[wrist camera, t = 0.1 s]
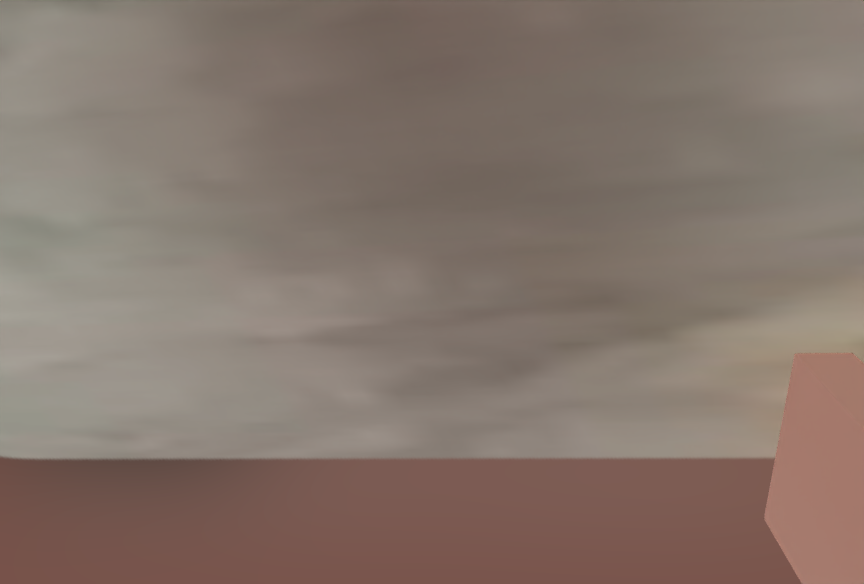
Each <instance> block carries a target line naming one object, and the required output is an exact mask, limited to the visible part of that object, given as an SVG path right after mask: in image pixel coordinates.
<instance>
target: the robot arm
mask: <svg viewBox="0 0 864 584" xmlns="http://www.w3.org/2000/svg"><path fill="white" fill-rule="evenodd" d="M764 519H765V521H766V523H767V524H768V526H769V528H770V530H771V531H772V533H773V535H774V536H775V538H776V540H777V541H778V543H779V545H780V547H781V548H782V550H783V552H784V554H785V555H786V557H787V559H788V561H789V562H790V564H791V566H792V568H793V569H794V571H795V573H796V574H797V576H798V578H799V580H800V581H801V583H802V584H864V363H863V362H862V361H860V360H859V359H858V358H857V357H856V356H855V355H854V354H853V353H798V354H795V356H794V361H793V367H792V372H791V377H790V383H789V388H788V393H787V399H786V404H785V409H784V415H783V420H782V425H781V431H780V436H779V441H778V447H777V452H776V457H775V463H774V468H773V474H772V479H771V484H770V490H769V495H768V501H767V506H766V511H765V516H764Z"/></svg>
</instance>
